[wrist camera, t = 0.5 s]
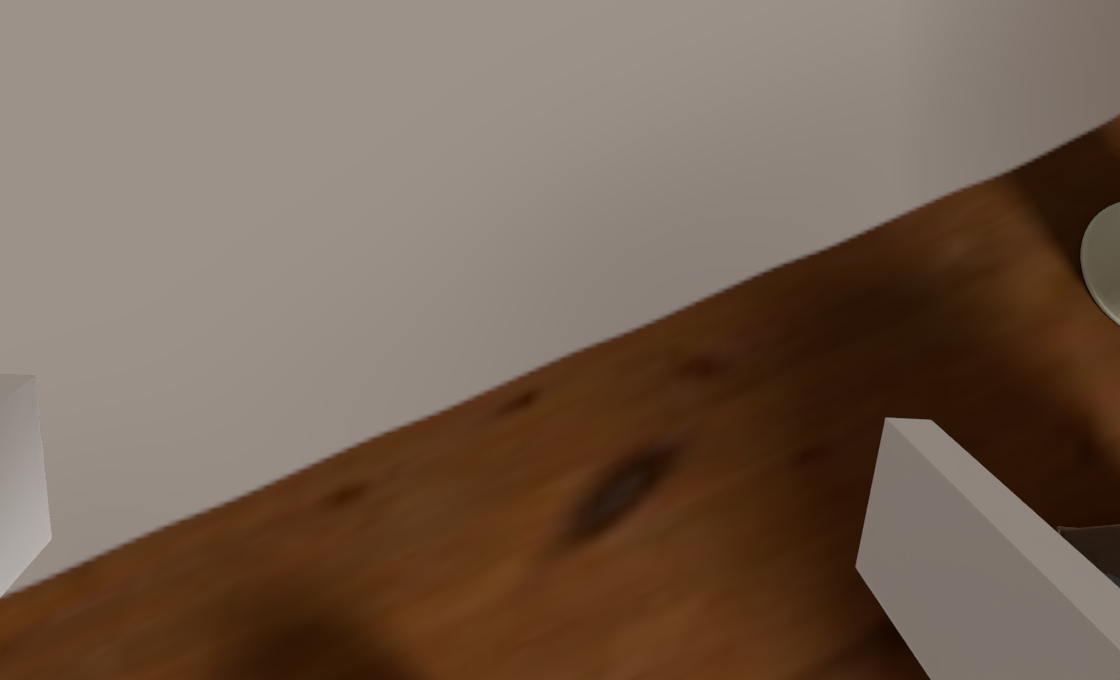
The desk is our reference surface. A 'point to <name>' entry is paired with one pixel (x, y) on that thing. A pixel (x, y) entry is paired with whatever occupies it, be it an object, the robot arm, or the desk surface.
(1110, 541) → the two-tier brown block
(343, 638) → the desk surface
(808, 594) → the desk surface
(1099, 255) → the can
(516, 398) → the desk surface
